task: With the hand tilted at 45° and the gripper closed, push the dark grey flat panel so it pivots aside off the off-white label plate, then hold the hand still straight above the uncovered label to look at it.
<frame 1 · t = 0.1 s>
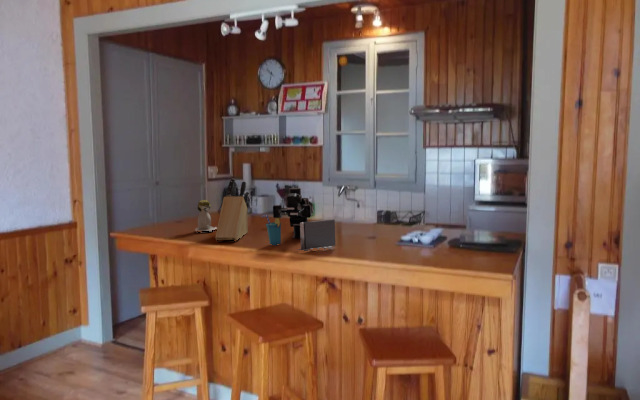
hand: (288, 214, 227), 17 cm above the table, tool horizontal, fingers open, 9 cm apart
knife block: (235, 236, 265), on the table
dark grey flat panel: (317, 234, 225), point 7 cm above the table, hinge at 0.0°
hinge foot: (303, 251, 223), on the table
label plate: (320, 247, 228), on the table
cup: (274, 244, 240), on the table, touching gripper
white figurine: (206, 231, 282), on the table
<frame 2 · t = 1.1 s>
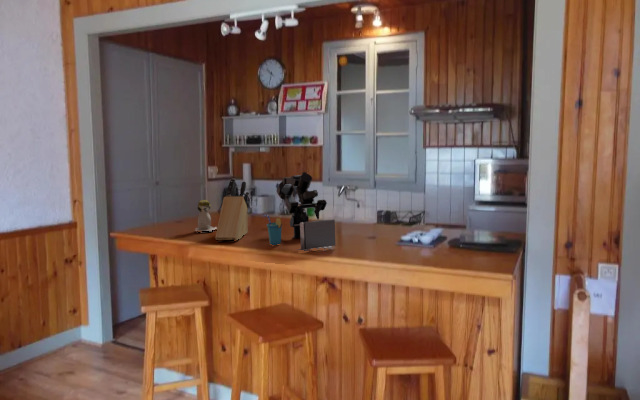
hand: (312, 219, 234), 13 cm above the table, tool tilted 45°, fingers open, 6 cm apart
cup: (274, 244, 240), on the table
everything else where it was.
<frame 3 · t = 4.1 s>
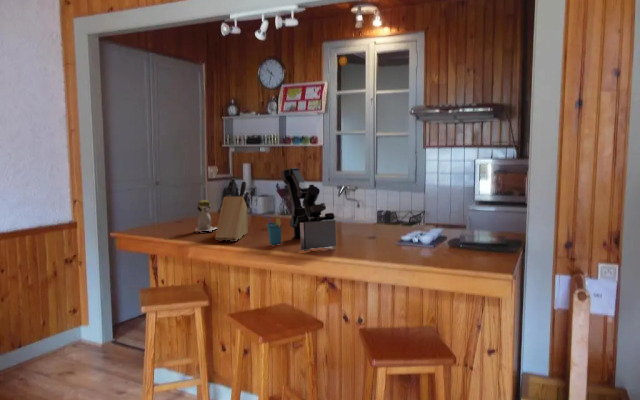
hand: (320, 234, 226), 7 cm above the table, tool tilted 45°, fingers closed, pressing on dark grey flat panel
dark grey flat panel: (317, 234, 225), point 7 cm above the table, hinge at 3.5°, touching gripper
everything else where it was.
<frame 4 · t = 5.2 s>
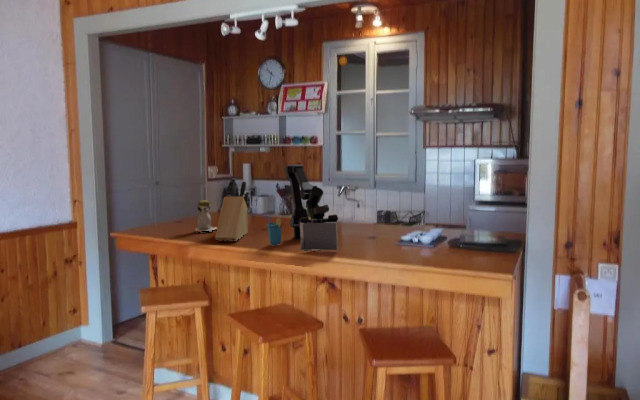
hand: (323, 236, 222), 7 cm above the table, tool tilted 45°, fingers closed
dark grey flat panel: (318, 236, 221), point 7 cm above the table, hinge at 31.8°, touching gripper
everything else where it was.
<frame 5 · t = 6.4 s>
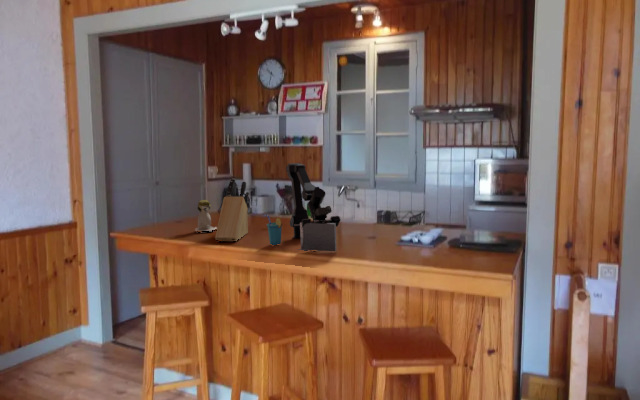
hand: (325, 238, 220), 7 cm above the table, tool tilted 45°, fingers closed
dark grey flat panel: (317, 236, 220), point 7 cm above the table, hinge at 41.9°, touching gripper
everything else where it was.
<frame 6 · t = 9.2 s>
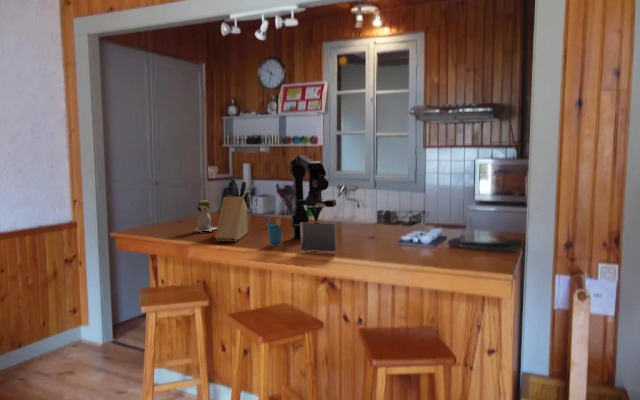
hand: (316, 221, 228), 13 cm above the table, tool pointing down, fingers closed
dark grey flat panel: (317, 236, 220), point 7 cm above the table, hinge at 41.9°
everything else where it was.
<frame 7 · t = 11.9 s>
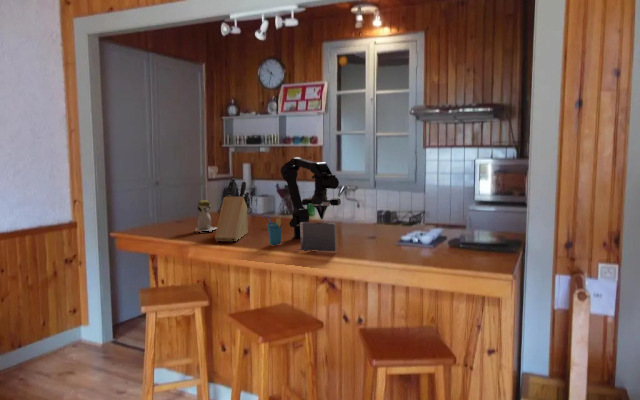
hand: (321, 219, 239), 12 cm above the table, tool pointing down, fingers closed
nothing on the table moved.
at the end: dark grey flat panel at +42° (first picture: +0°); cup moved 0.2 cm from its start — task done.
